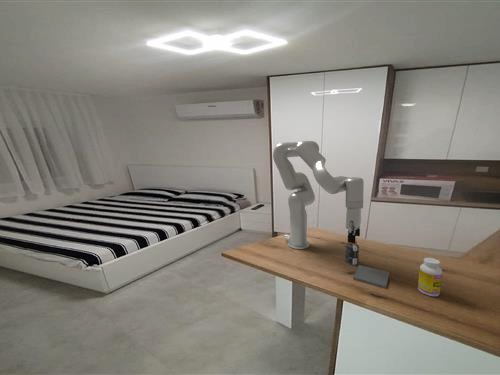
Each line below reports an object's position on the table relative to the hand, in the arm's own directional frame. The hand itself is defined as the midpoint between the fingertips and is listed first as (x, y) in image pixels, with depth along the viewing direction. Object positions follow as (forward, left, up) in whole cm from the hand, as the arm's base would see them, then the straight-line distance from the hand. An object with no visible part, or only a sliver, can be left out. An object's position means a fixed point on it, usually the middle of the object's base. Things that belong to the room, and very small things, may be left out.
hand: (353, 239), depth 109 cm
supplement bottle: (+29, -8, -12) cm, 32 cm away
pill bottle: (-1, 0, -12) cm, 12 cm away
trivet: (+9, -9, -12) cm, 18 cm away
